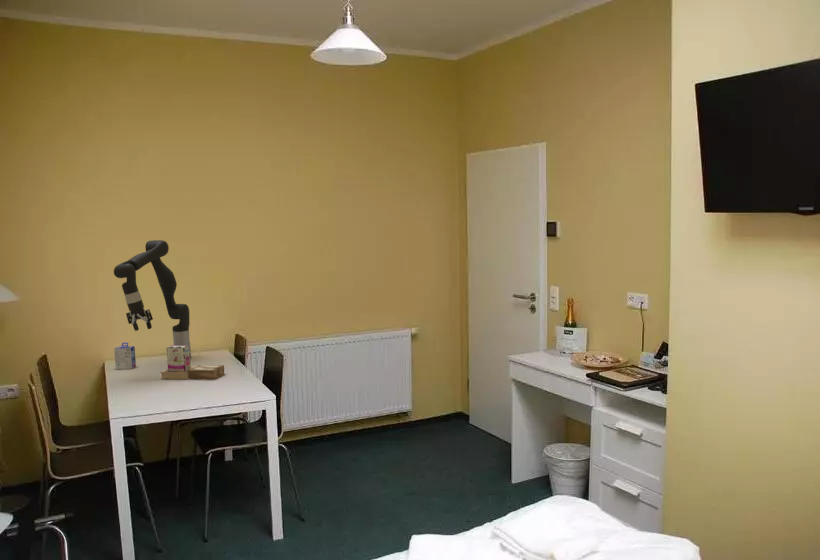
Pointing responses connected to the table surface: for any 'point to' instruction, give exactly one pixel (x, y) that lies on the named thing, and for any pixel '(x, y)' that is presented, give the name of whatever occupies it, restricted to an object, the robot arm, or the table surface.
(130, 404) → the table surface
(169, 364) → the candy bar box
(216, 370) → the stand
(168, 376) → the light wooden frame
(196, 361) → the table surface
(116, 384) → the table surface
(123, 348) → the ink cartridge box
